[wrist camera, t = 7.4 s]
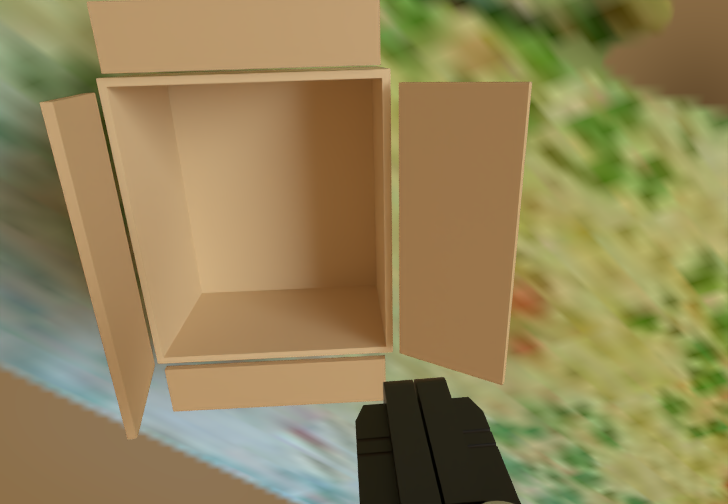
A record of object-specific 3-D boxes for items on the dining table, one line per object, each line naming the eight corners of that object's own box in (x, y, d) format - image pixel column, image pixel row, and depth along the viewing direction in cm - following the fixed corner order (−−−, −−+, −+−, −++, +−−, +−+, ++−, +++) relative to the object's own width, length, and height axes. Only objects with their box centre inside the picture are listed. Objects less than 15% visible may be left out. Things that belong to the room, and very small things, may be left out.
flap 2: (399, 353, 28) (402, 349, 29) (502, 385, 25) (504, 380, 26) (398, 82, 23) (403, 82, 23) (529, 82, 20) (531, 81, 20)
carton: (151, 18, 30) (75, 1, 22) (377, 12, 31) (392, -7, 22) (205, 332, 39) (165, 412, 30) (383, 323, 39) (395, 399, 30)
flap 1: (94, 92, 22) (85, 93, 22) (52, 101, 17) (39, 102, 17) (154, 365, 28) (147, 366, 28) (137, 438, 22) (127, 439, 22)
